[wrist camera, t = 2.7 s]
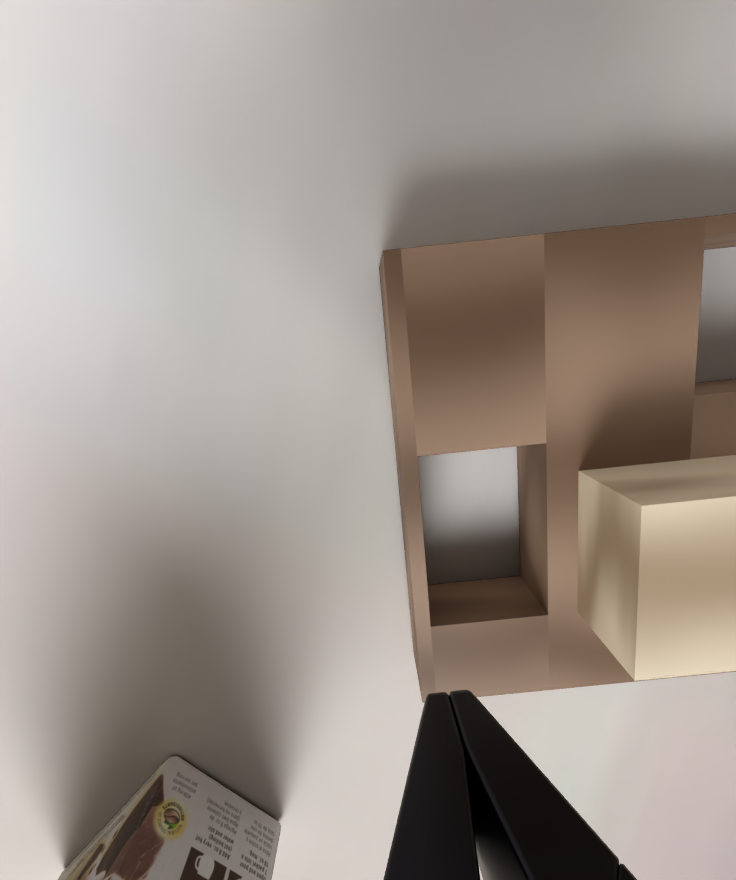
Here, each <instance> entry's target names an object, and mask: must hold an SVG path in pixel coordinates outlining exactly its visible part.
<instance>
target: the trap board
mask: <svg viewBox="0 0 736 880" xmlns="http://www.w3.org/2000/svg"><path fill="white" fill-rule="evenodd" d="M734 246H736V213H734V214H725V215H715V216H706V217H696V218H687V219H677V220H668V221H658V222H649V223H639V224H630V225H621V226H611V227H602V228H592V229H583V230H573V231H564V232H554V233H545V234H535V235H526V236H516V237H507V238H497V239H488V240H478V241H469V242H459V243H450V244H440V245H431V246H421V247H412V248H402V249H393V250H383V252H382V257H381V262H380V266H379V272H380V283H381V294H382V305H383V316H384V327H385V338H386V350H387V361H388V372H389V383H390V394H391V405H392V416H393V427H394V438H395V449H396V461H397V472H398V483H399V494H400V505H401V516H402V527H403V538H404V549H405V560H406V571H407V583H408V594H409V605H410V616H411V627H412V638H413V649H414V656H415V662H416V668H417V674H418V679H419V685H420V691H421V697H422V702H425V699H426V696H427V694H429V693H437V692H446V693H447V694H448V695H449V693H450V692H451V691H457V690H469V691H471V692H472V693H473V694H474V696H475V697H482V696H492V695H503V694H513V693H523V692H533V691H543V690H553V689H563V688H573V687H583V686H594V685H604V684H614V683H624V682H634V680H633V678H632V677H631V676H630V675H629V674H628V672H627V671H626V670H625V669H624V668H623V666H622V665H621V664H620V663H619V661H618V660H617V659H616V658H615V657H614V655H613V654H612V653H611V652H610V651H609V649H608V648H607V647H606V646H605V645H604V643H603V642H602V641H601V640H600V639H599V637H598V636H597V635H596V634H595V632H594V631H593V630H592V629H591V628H590V626H589V625H588V624H587V623H586V622H585V620H584V619H583V618H582V617H581V616H580V614H579V613H578V472H579V471H582V470H592V469H602V468H612V467H621V466H631V465H641V464H651V463H661V462H670V461H680V460H690V459H700V458H710V457H719V456H729V455H736V379H727V380H718V381H708V382H698V383H695V377H696V362H697V346H698V331H699V316H700V300H701V285H702V269H703V254H704V250H705V249H715V248H724V247H734ZM514 446H517V459H518V497H519V535H520V573H521V576H515V577H505V578H495V579H485V580H475V581H465V582H455V583H445V584H435V585H427V574H426V561H425V549H424V536H423V524H422V511H421V498H420V486H419V473H418V460H417V456H426V455H436V454H445V453H455V452H465V451H475V450H484V449H494V448H504V447H514ZM730 672H735V671H730ZM720 673H725V672H720ZM710 674H715V673H710ZM700 675H705V674H700ZM690 676H695V675H690ZM680 677H685V676H680ZM669 678H675V677H669ZM659 679H664V678H659ZM649 680H654V679H649ZM639 681H644V680H639Z"/></svg>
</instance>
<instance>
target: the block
mask: <svg viewBox="0 0 736 880" xmlns="http://www.w3.org/2000/svg"><path fill="white" fill-rule="evenodd" d="M578 613H579V614H580V616H581V617H582V618H583V619H584V620H585V622H586V623H587V624H588V625H589V626H590V628H591V629H592V630H593V631H594V632H595V634H596V635H597V636H598V637H599V639H600V640H601V641H602V642H603V643H604V645H605V646H606V647H607V648H608V649H609V651H610V652H611V653H612V654H613V655H614V657H615V658H616V659H617V660H618V661H619V663H620V664H621V665H622V666H623V668H624V669H625V670H626V671H627V672H628V674H629V675H630V676H631V677H632V678H633V680H634V681H639V680H649V679H659V678H669V677H680V676H690V675H700V674H710V673H720V672H730V671H736V455H729V456H719V457H710V458H700V459H690V460H680V461H670V462H661V463H651V464H641V465H631V466H621V467H612V468H602V469H592V470H582V471H579V472H578Z"/></svg>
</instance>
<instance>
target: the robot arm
mask: <svg viewBox="0 0 736 880" xmlns="http://www.w3.org/2000/svg"><path fill="white" fill-rule="evenodd" d="M478 863H479V865H478ZM479 866H480V870H481V873H482V877H483V880H637V879H636V878H635V877H634V875H633V874H632V873H631V872H630V871H629V870H628V869H627V867H626V866H625V865H624V864H620V865H619V860H618V858H617V856H616V855H615V854H614V853H613V852H612V851H611V850H610V849H609V847H608V846H607V845H606V844H605V843H604V842H603V841H602V839H601V838H600V837H599V836H598V835H597V834H596V833H595V832H594V830H593V829H592V828H591V827H590V826H589V825H588V824H587V822H586V821H585V820H584V819H583V818H582V817H581V816H580V815H579V813H578V812H577V811H576V810H575V809H574V808H573V807H572V805H571V804H570V803H569V802H568V801H567V800H566V799H565V798H564V796H563V795H562V794H561V793H560V792H559V791H558V790H557V788H556V787H555V786H554V785H553V784H552V783H551V782H550V781H549V779H548V778H547V777H546V776H545V775H544V774H543V773H542V771H541V770H540V769H539V768H538V767H537V766H536V765H535V764H534V762H533V761H532V760H531V759H530V758H529V757H528V756H527V754H526V753H525V752H524V751H523V750H522V749H521V748H520V747H519V745H518V744H517V743H516V742H515V741H514V740H513V739H512V737H511V736H510V735H509V734H508V733H507V732H506V731H505V730H504V728H503V727H502V726H501V725H500V724H499V723H498V722H497V720H496V719H495V718H494V717H493V716H492V715H491V714H490V713H489V711H488V710H487V709H486V708H485V707H484V706H483V705H482V703H481V702H480V701H479V700H478V699H477V698H476V697H475V696H474V694H473V693H472V692H471V691H469V690H457V691H451V692H450V693H449V695H448V694H447V693H446V692H437V693H429V694H427V696H426V699H425V703H424V707H423V712H422V716H421V720H420V725H419V729H418V733H417V738H416V742H415V746H414V751H413V755H412V759H411V764H410V768H409V772H408V776H407V781H406V785H405V789H404V794H403V798H402V802H401V807H400V811H399V815H398V820H397V824H396V828H395V833H394V837H393V841H392V846H391V850H390V854H389V858H388V863H387V867H386V871H385V876H384V880H480V874H479Z"/></svg>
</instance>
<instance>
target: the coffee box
mask: <svg viewBox="0 0 736 880" xmlns="http://www.w3.org/2000/svg"><path fill="white" fill-rule="evenodd" d="M280 830H281V825H280V823H279V822H278V821H277V820H275V819H274V818H272V817H271V816H269V815H268V814H266V813H265V812H263V811H261V810H260V809H258V808H257V807H255V806H253V805H252V804H250V803H249V802H247V801H246V800H244V799H243V798H241V797H240V796H238V795H237V794H235V793H233V792H232V791H230V790H229V789H227V788H226V787H224V786H223V785H221V784H220V783H218V782H217V781H215V780H213V779H212V778H210V777H209V776H207V775H205V774H204V773H202V772H201V771H199V770H198V769H196V768H195V767H193V766H192V765H190V764H189V763H187V762H186V761H184V760H183V759H181V758H180V757H178V756H173V757H169V758H168V759H167V760H166V761H165V762H164V763H163V764H162V765H161V766H160V767H159V768H158V769H157V770H156V772H155V773H154V774H153V775H152V776H151V777H150V778H149V779H148V780H147V781H146V782H145V783H144V785H143V786H142V787H141V788H140V789H139V790H138V791H137V792H136V793H135V794H134V795H133V797H132V798H131V799H130V800H129V801H128V802H127V803H126V804H125V805H124V806H123V807H122V808H121V810H120V811H119V812H118V813H117V814H116V815H115V816H114V817H113V818H112V819H111V820H110V821H109V822H108V824H107V825H106V826H105V827H104V828H103V829H102V830H101V831H100V832H99V833H98V834H97V835H96V836H95V838H94V839H93V840H92V841H91V842H90V843H89V844H88V845H87V846H86V847H85V848H84V849H83V850H82V851H81V853H80V854H79V855H78V856H77V857H76V858H75V859H74V860H73V861H72V862H71V863H70V864H69V866H68V867H67V868H66V869H65V870H64V871H63V872H62V874H61V875H60V877H59V879H58V880H271V879H272V874H273V868H274V863H275V857H276V852H277V846H278V841H279V836H280Z"/></svg>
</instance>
